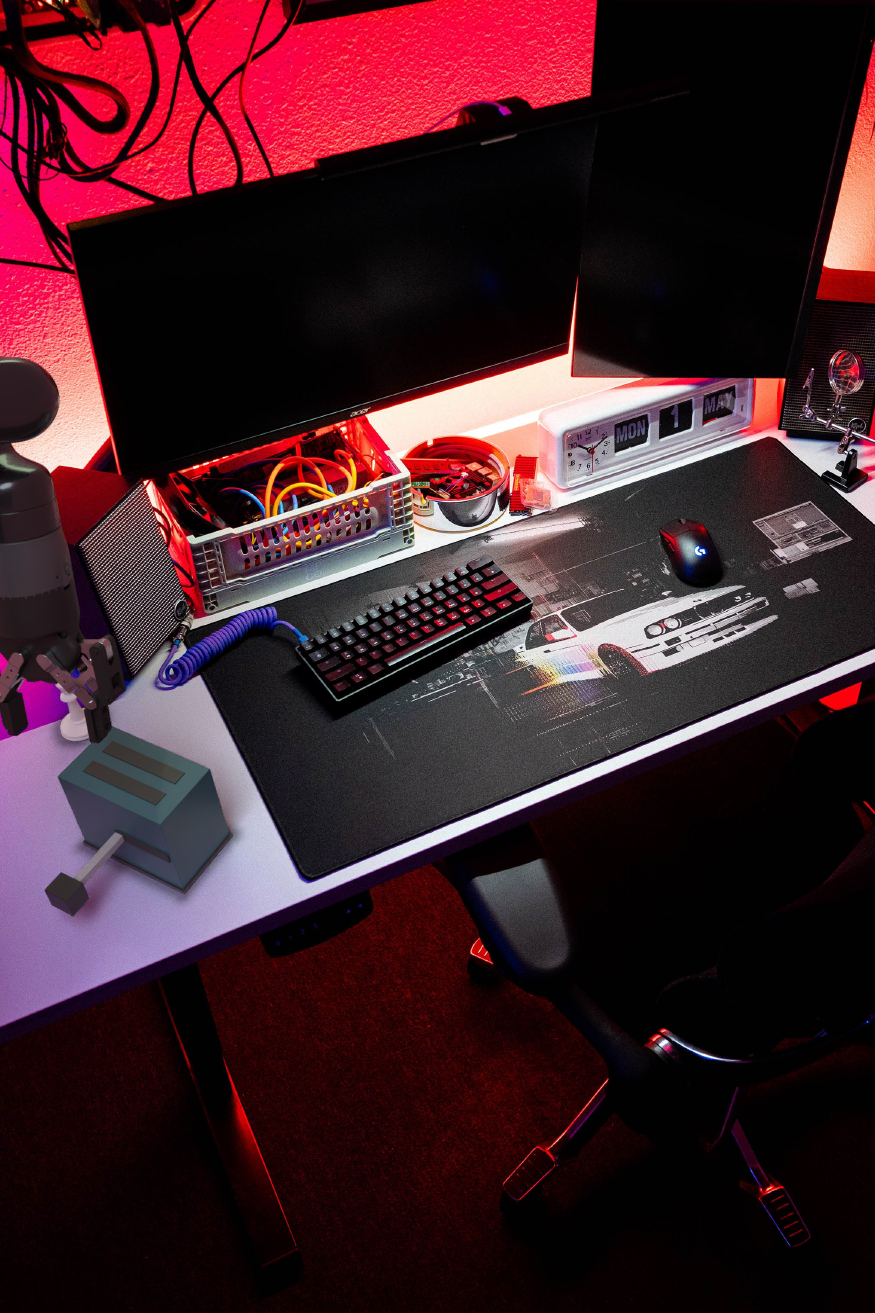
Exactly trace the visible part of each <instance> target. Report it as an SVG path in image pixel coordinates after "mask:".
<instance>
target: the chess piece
mask: <svg viewBox="0 0 875 1313" xmlns="http://www.w3.org/2000/svg"><path fill="white" fill-rule="evenodd" d="M54 685H55V687H56V688H57V689H58V690H59V691H60V695H59V698H60V701H61V702H62V703H67V707H68V712H69V713H67V714H66V715H65V716H64V717H63V718H62V720H61V722H60V726H59V729H60V730H59V731H60V734H61V736H62V737H63V738H64V739H66V740H67V741H71V742H80V741H84V740H88V739H89V736H88V731H87V725H86V720H85V714H84V709H85V708H86V707H81V705H80V703H79V702H78V700H77V699H78V698H77V697H76V696H75V695H74V694H70V693H67V692H66V691H65V690H64V688H63V687H62V686H61V685H60V684H59V683H58V684H54Z"/></svg>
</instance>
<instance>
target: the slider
mask: <svg viewBox="0 0 875 1313" xmlns="http://www.w3.org/2000/svg"><path fill="white" fill-rule="evenodd" d="M123 842H124V839H123V836H122V835H120V834H118V833H116V832H115V833H114V834H113V835H112V836H111V837H110V839H109V840H108V841H107V842H106V843H105V844H104V845H103V846H102V847H101V848H100V849H99V850H98V851H96V852H95V854H94V855H92V857H91V858H90V859H89V860H88V861H87V862H86V863H85V864H84V865H83V867H82V868H81V869H80V870H79V871H78V872H77V873H76V874H75V875H74V876H70V875H68V874H66V873H64V872H62V871H60V872H59V874H57V876H55V877H54V878H53V880H52V881H51V882H50V883H49V884H48V885H47V886H46V887H45V888H44V889H43V891H44V893H45V895H46V896H47V899H48V901H49V903H50V905H51V906H52V907H54V908H55V909H58V910H60V911H62V912H63V913H65V914H67V915H70V916H71V917H75V916H76V915H77V913H79V912H80V910H81V909H82V908H83V907H84V906H85V905H86V904H87V902H88V901H89V900H90V899H91V898H90V895H89V894H88V891H87V889H86V887H85V885H86V884H87V883H88V882H89V881H90V880H91V879H92V878H93V876H94V875H95V874H96V873H97V872H98V871H99V870H100V869H101V868H102V867H103V865H104V864H105V863H106V862H108V860H109V859H111V858H110V856H111V855H112V854H113V853H114V852H115V851H116V850H117V849H118V848H119V847H120V845H121V844H122V843H123Z"/></svg>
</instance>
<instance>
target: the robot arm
mask: <svg viewBox="0 0 875 1313" xmlns="http://www.w3.org/2000/svg"><path fill="white" fill-rule="evenodd" d="M60 397H61V396H60V391H59V388H58V385H57V383H56V381H55V379H54V377H53V376H52V375H51V373H50V372H49V371H48V370H47V369H46V368H45V367H43V366H42V365H41V364H39V363H37V362H36V361H33V360H32V359H28V358H25V357H20V356H19V357H18V356H4V355H3V356H1V355H0V654H1V655H2V657H3V658H4V659H5V660H6V662H7V665H5V668H4V669H3V671H1V670H0V718H1V724H2V726H3V728H4V729H5V730H6V731H7V734H8V736H12V737H18V736H19V735H21V734H22V733H23V732H24V731H26V730H27V729H28V726H29V720H28V715H27V710H26V705H25V701H24V696H23V692H22V691H18V690H20V688H21V686H22V684H23V683H24V682H25V680H26V683H38V682H43V683H46V684H49V685H50V684H52V685H55V684H58V683H59V684H60V685H61V686H62V687H63V688H64V690H65V691H66V692H67V693H70V694H74V695H75V696H76V697H77V698H76V699H78V700H79V702H81V704H82V705H83V706H84V708H85V709H84V714H85V720H86V725H87V731H88V736H89V738H88V740H89V744H91V743H100V742H101V741H102V740H103V739H104V738H105V737H106V736H107V735H108V733H109V732H110V731H111V728H112V726H113V723H112V719H111V718H112V717H111V713H110V706H111V705H112V704H113V703H114V702H115V701H116V700H117V699H118V698H119V697H121V695H123V694H125V692H126V691H127V685H126V681H125V677H124V672H123V669H122V664H121V658H120V655H119V651H118V646H117V642H116V639H115V637H114V636H113V635H111V634H105V635H104V636H102V638H98V639H97V638H96V639H95V638H94V639H93V638H89V639H88V638H87V639H86V637H85V636H84V635H83V633H82V631H81V629H80V619H81V609H80V605H79V604H80V603H79V599H78V593H77V588H76V582H75V577H74V576H75V575H74V572H73V566H72V560H71V555H70V550H69V546H68V541H67V539H66V536H65V533H64V530H63V527H62V522H61V517H60V512H59V506H58V500H57V495H56V488H55V484H54V480H53V477H52V474H51V472H50V470H49V469H48V468H47V467H46V466H45V465H44V464H42V463H41V462H38V461H35V460H32V459H31V458H28V457H26V456H23V455H22V454H20V453H19V452H18V451H17V450H16V449H15V447H14V445H13V444H18V443H23V442H27V441H30V440H32V439H33V440H34V439H35V438H37V437H39V436H40V435H42V434H43V433H45V432H46V431H47V430H48V429H49V428H50V426H51V425H52V424H53V423H54V421H55V420H56V418H57V416H58V412H59V409H60V402H61V398H60ZM86 657H87V658H86ZM75 670H77V671H78V674H79V676H78V677H73V675H72V674H73V673H74V672H75Z"/></svg>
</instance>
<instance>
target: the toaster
mask: <svg viewBox="0 0 875 1313" xmlns="http://www.w3.org/2000/svg"><path fill="white" fill-rule="evenodd" d="M57 780H58V781H59V785H60V787H61V789H62V791H63V794H64V795H65V798H66V800H67V802H68V805H69V807H70V809H71V812H72V814H73V816H74V818H75V821H76V824H77V825H78V828H79V830H80V832H81V834H82V837H83V839H84V840H83V841H82V844H83V845H84V846H85V847H88V848H89V849H91V850H94V851H96V852H98V850H99V849H100V848H101V847H102V846H103V845H104V844H105V843H106V842H107V841H108V840H109V839H110V837H111V836H112V835H113V834H114V833H115V832H116V833H118V834H120V835H122V836H123V839H124V842H123V843H122V844H121V845H120V847H119V848H118V849H117V850H116V851H115V852H114V853H113V854H112V855H111V856H110V858H109V859H111V860H112V859H113V860H114V861H116V862H117V863H119V864H122V865H124V866H126V867H128V868H130V869H131V870H134V871H136V872H137V873H140V874H142V875H144V876H146V877H148V878H150V879H153V880H154V881H156V882H158V883H160V884H162V885H164V886H167V887H168V888H170V889H172V890H175V891H176V892H178V893H181V894H182V895H186V893H187V892H188V891H189V890H190V889H191V888H192V886H193V885H194V884H195V883H196V881H197V880H198V879H199V877H200V876H201V875H203V873H204V872H205V870H206V869H207V868H208V867H209V865H211V863H212V862H213V861H214V859H216V857H217V856H218V855H219V853H220V852H221V851H222V850H223V849H224V847H226V845H227V844H228V842H229V841H230V840H231V839H232V837H233V836H234V835H233V832H231V831H229V827H228V824H227V821H226V818H225V814H224V811H223V808H222V804H221V801H220V797H219V793H218V791H217V788H216V785H215V784H216V783H215V781H214V777H213V774H212V771H211V768H209V767H207V766H205V765H203V764H200V763H198V762H197V761H196V762H195V761H194V760H191V759H189V758H187V757H184V756H182V755H180V754H177V753H175V752H173V751H171V750H169V749H167V748H164V747H162V746H159V745H157V744H154V743H152V742H150V741H149V740H148V741H147V740H145V739H143V738H141V737H139V736H136V735H134V734H132V733H130V732H127V731H125V730H123V729H120V728H118V727H115V726H113V725H112V728H111V731H110V732H109V733H108V735H107V736H106V737H105V738H104V739H103V740H102V741H101V742H100V743H89V744H88V746H86V747H85V748H84V749H83V750H82V751H81V752H80V753H79V754H78V755H77V756H76V758H74V759H73V760H72V761H71V762H70V763H69V764H68V765H67V766H66V767H65V768H64V769H63V770H62V771H61V772H60V773H59V774H58V775H57Z"/></svg>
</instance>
